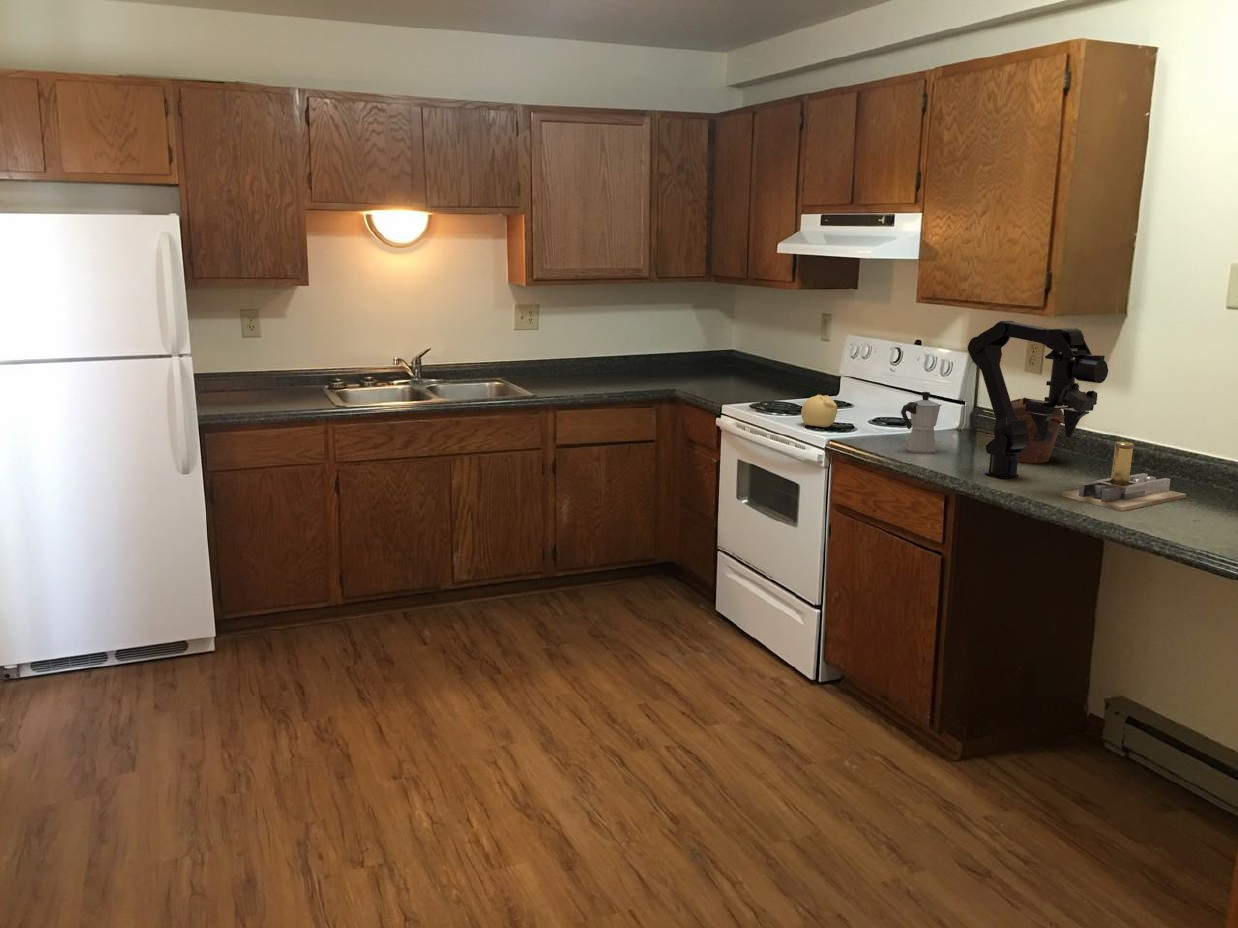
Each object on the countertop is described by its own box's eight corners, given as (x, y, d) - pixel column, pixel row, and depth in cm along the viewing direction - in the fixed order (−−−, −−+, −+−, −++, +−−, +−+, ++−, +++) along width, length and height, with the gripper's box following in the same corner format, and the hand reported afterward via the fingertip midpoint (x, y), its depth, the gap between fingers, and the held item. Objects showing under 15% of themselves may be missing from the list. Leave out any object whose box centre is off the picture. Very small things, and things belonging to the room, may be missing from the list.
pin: (1105, 493, 251) (1111, 442, 248) (1115, 491, 253) (1121, 441, 250) (1121, 497, 248) (1127, 445, 245) (1130, 494, 250) (1137, 444, 247)
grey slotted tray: (1076, 495, 249) (1077, 483, 248) (1139, 483, 262) (1141, 472, 262) (1107, 503, 241) (1109, 491, 241) (1171, 490, 255) (1172, 479, 255)
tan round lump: (840, 429, 336) (842, 397, 334) (804, 428, 335) (806, 397, 333) (831, 423, 347) (833, 392, 345) (797, 422, 347) (799, 391, 344)
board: (1061, 496, 252) (1062, 492, 252) (1125, 484, 266) (1126, 480, 265) (1121, 511, 238) (1122, 507, 238) (1185, 497, 252) (1186, 494, 252)
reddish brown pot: (1018, 448, 309) (1024, 391, 305) (1074, 462, 292) (1082, 401, 287) (977, 454, 301) (983, 395, 296) (1032, 468, 283) (1039, 406, 279)
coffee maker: (928, 446, 310) (933, 388, 306) (947, 452, 302) (953, 393, 298) (888, 449, 304) (893, 390, 300) (907, 455, 297) (912, 395, 293)
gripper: (1063, 384, 243) (1056, 447, 246) (1115, 380, 251) (1107, 442, 254) (1026, 378, 252) (1020, 439, 256) (1078, 375, 261) (1071, 434, 264)
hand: (1055, 438), depth 257 cm, fingers open, 9 cm apart
